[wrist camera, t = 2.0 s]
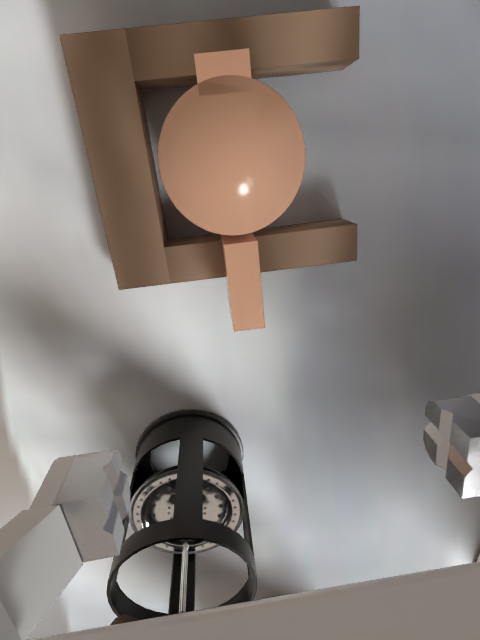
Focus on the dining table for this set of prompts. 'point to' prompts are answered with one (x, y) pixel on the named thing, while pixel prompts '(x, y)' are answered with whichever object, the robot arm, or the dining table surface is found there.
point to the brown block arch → (135, 145)
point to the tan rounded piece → (232, 167)
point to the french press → (185, 510)
